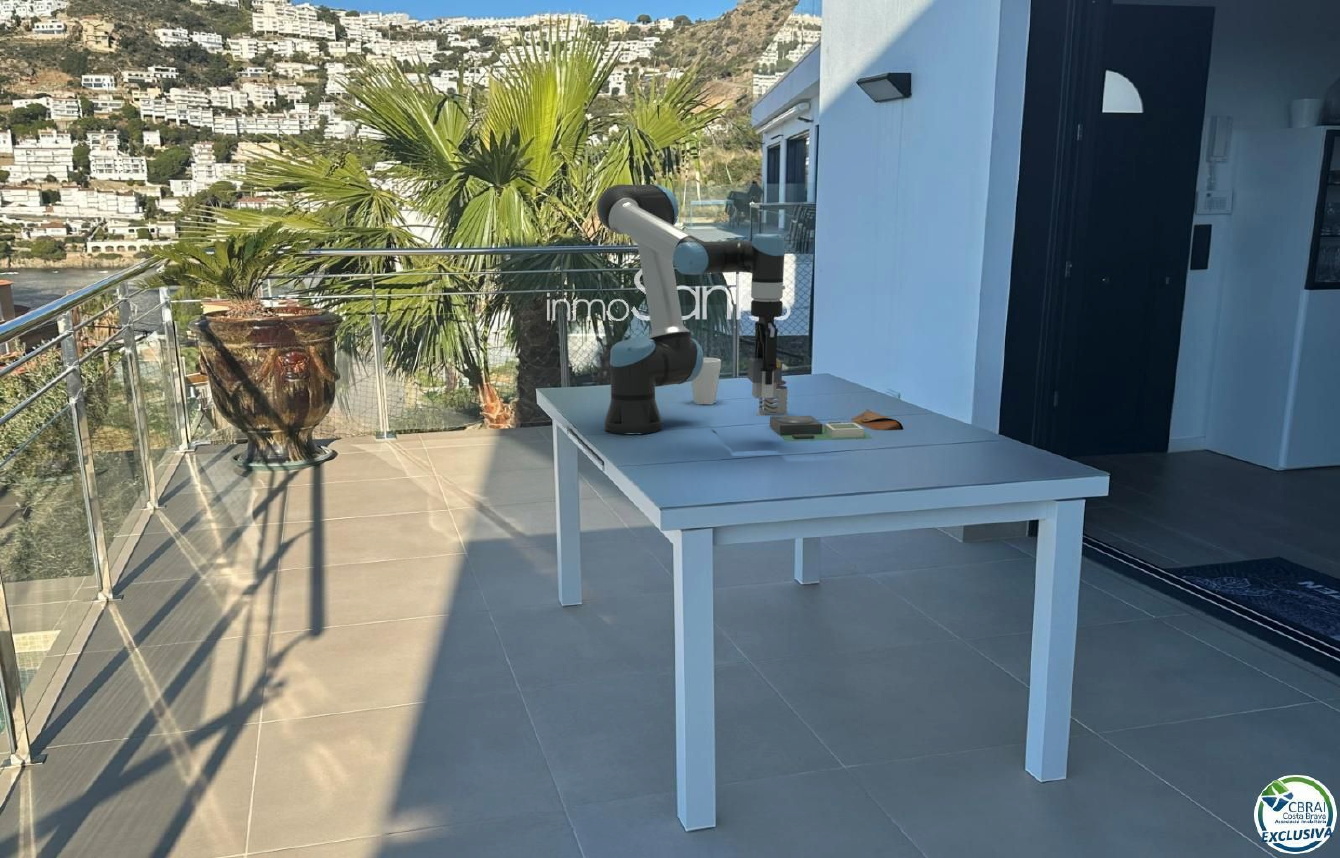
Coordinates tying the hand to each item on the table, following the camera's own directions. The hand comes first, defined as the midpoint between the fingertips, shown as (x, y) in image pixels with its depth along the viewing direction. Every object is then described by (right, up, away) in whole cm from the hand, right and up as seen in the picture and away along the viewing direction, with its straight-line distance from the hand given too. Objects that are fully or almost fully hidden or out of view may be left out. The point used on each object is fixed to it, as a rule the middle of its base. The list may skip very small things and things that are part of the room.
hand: (764, 394), depth 251 cm
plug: (0, 0, 0) cm, 0 cm away
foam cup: (-12, -1, +58) cm, 59 cm away
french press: (+5, -5, +38) cm, 39 cm away
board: (+15, -10, +11) cm, 22 cm away
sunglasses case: (+30, -9, +21) cm, 38 cm away
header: (+21, -10, +8) cm, 24 cm away
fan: (+9, -9, +14) cm, 19 cm away
